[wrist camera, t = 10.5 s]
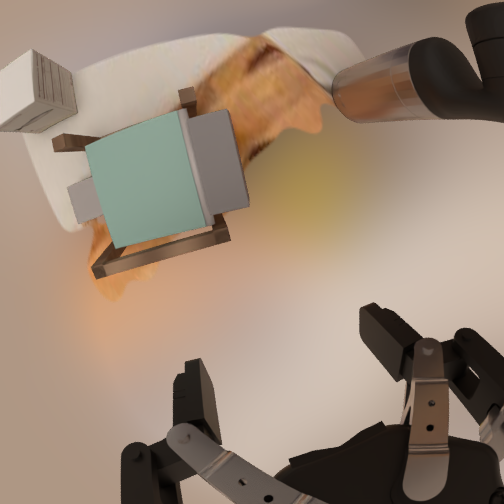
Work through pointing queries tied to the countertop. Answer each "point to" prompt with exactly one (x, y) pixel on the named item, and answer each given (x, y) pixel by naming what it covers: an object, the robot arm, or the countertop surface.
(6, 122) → the supplement box
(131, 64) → the countertop surface
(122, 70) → the countertop surface
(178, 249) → the frame
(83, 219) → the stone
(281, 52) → the countertop surface
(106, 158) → the trapdoor
